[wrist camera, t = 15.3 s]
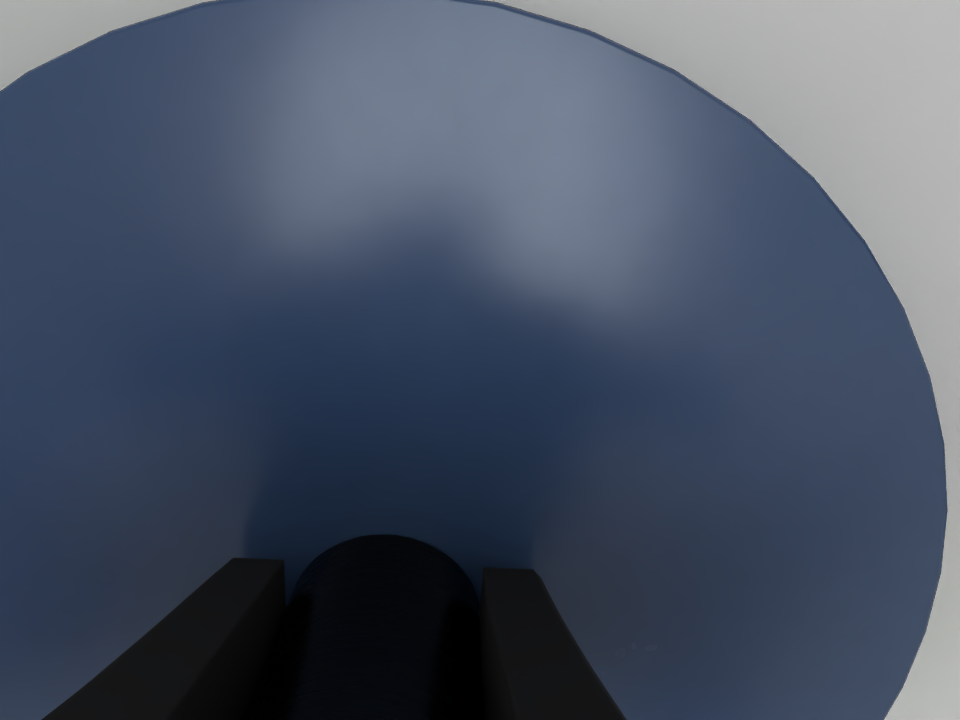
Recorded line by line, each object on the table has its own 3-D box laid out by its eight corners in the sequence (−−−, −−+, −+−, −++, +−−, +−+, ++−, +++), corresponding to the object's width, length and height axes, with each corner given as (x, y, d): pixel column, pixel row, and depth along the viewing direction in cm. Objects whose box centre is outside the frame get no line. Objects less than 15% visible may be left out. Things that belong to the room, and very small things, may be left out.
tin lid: (-28, 895, 12) (-325, 1358, 7) (-274, -43, 7) (-1485, -328, 3) (779, 909, 12) (956, 1344, 8) (1037, 52, 8) (1807, -55, 3)
